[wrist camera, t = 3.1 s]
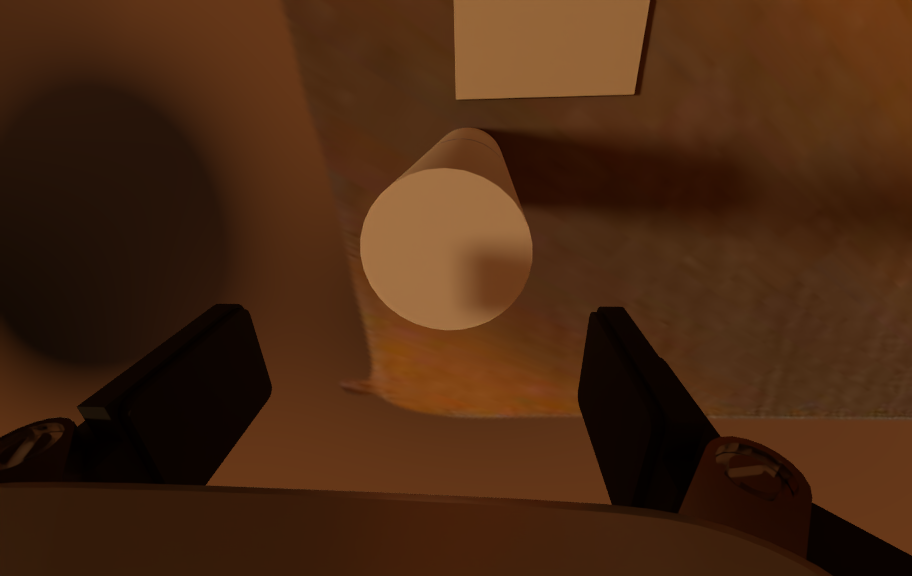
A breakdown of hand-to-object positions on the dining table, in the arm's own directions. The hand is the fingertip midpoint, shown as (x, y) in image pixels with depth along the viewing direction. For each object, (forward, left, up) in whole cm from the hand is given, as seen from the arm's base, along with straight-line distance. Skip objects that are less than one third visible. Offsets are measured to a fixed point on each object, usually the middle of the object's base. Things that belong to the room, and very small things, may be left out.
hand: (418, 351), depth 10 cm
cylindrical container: (0, 0, -31) cm, 31 cm away
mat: (-7, -14, -31) cm, 35 cm away
